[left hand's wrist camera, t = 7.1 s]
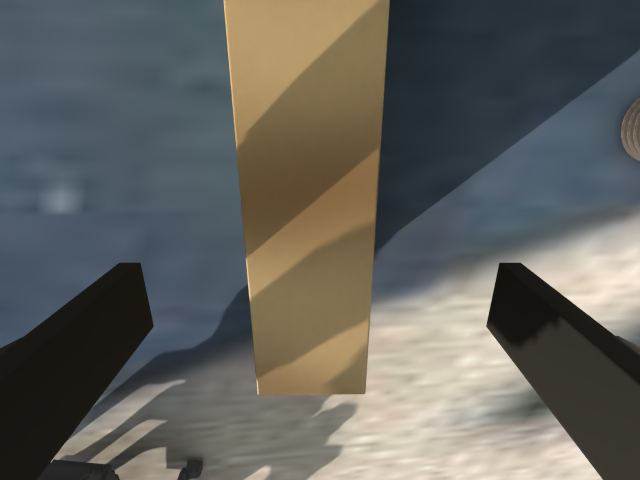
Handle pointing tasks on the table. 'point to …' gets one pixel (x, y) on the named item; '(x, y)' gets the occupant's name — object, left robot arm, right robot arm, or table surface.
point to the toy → (101, 471)
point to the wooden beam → (308, 183)
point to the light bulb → (632, 130)
